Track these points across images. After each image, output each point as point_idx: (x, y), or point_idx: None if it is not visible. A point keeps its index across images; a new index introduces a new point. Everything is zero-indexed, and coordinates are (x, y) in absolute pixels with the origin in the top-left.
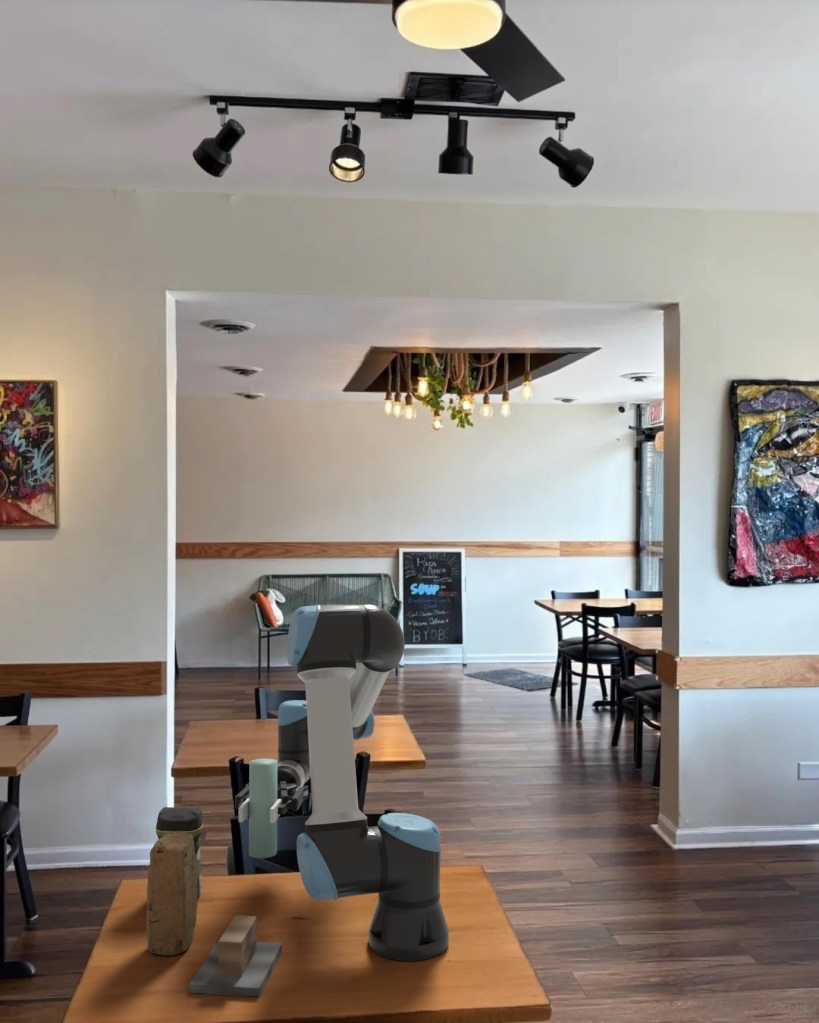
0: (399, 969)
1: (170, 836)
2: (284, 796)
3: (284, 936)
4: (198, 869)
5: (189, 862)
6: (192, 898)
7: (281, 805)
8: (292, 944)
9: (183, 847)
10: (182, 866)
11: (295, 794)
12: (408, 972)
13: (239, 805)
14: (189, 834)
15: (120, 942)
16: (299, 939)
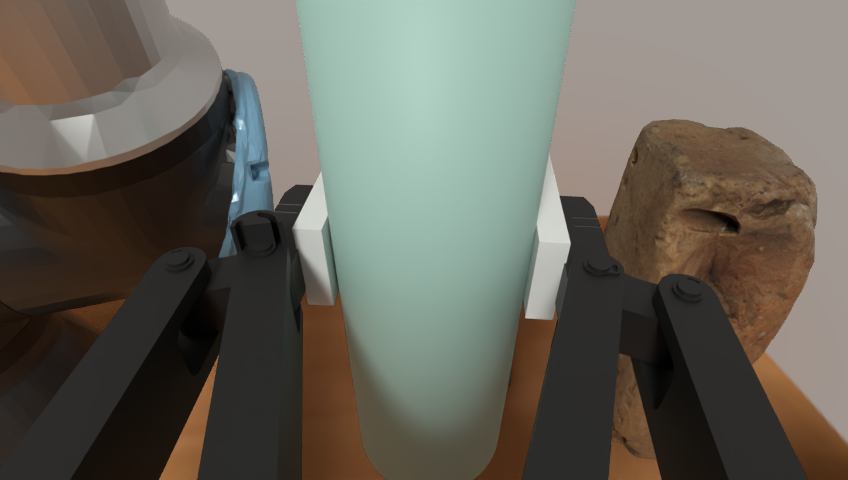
0: (111, 319)
1: (764, 165)
2: (266, 213)
3: (348, 448)
4: None
5: (634, 205)
6: None
7: (301, 208)
8: (326, 407)
9: (646, 127)
10: (625, 168)
11: (134, 353)
12: (98, 311)
13: (583, 202)
14: (700, 170)
15: (772, 404)
16: (306, 433)
